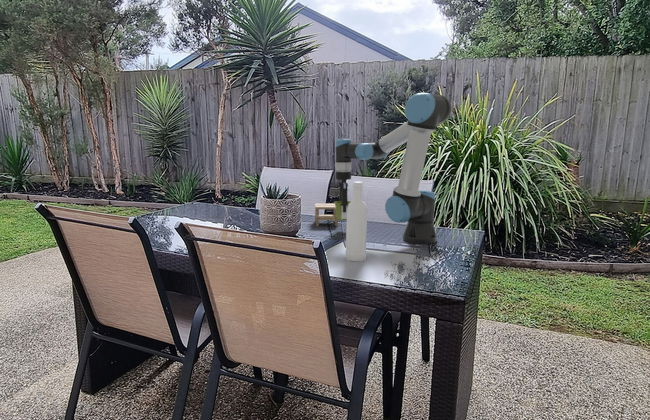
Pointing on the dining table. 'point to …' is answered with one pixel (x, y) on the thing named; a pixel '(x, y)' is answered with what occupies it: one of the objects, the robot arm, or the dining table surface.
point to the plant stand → (325, 217)
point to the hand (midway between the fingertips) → (343, 216)
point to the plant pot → (339, 209)
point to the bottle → (356, 226)
